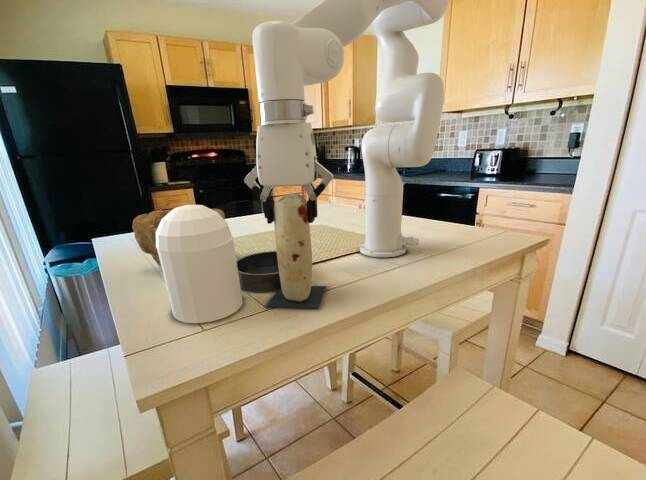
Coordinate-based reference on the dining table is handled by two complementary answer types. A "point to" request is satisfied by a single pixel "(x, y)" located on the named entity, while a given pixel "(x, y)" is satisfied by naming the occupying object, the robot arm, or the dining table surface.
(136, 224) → the rough brown rock
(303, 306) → the mat
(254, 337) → the dining table surface
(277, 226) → the food model
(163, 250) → the container
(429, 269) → the dining table surface
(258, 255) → the pan
